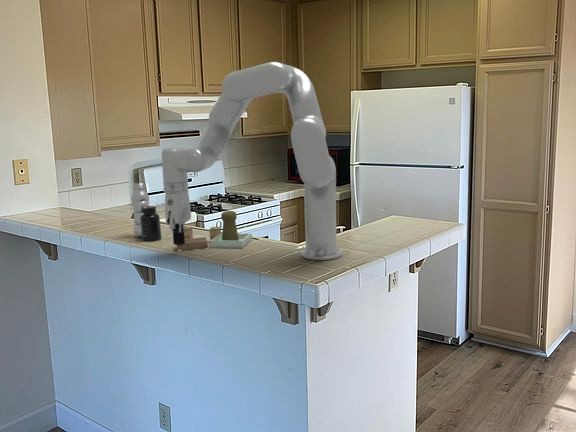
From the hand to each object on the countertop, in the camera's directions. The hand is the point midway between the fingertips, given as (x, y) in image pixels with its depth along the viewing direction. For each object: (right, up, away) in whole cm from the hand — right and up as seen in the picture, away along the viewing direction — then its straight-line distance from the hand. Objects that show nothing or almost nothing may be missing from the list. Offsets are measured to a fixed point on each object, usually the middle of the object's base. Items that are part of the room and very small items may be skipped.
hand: (179, 244), depth 182 cm
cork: (+15, 0, +12) cm, 19 cm away
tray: (+16, -1, +12) cm, 20 cm away
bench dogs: (+4, 0, +18) cm, 18 cm away
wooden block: (+3, -2, +9) cm, 10 cm away
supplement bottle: (-14, 0, +24) cm, 28 cm away
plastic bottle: (-19, +1, +29) cm, 35 cm away
